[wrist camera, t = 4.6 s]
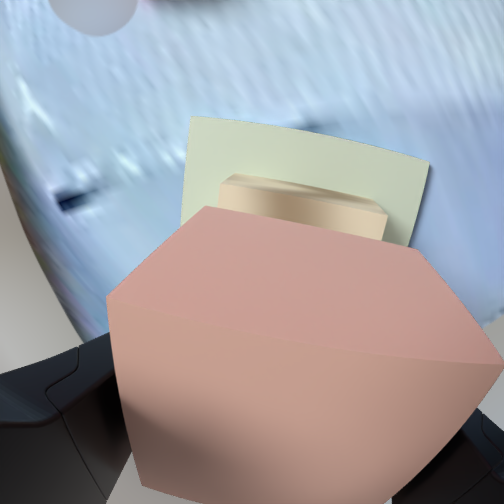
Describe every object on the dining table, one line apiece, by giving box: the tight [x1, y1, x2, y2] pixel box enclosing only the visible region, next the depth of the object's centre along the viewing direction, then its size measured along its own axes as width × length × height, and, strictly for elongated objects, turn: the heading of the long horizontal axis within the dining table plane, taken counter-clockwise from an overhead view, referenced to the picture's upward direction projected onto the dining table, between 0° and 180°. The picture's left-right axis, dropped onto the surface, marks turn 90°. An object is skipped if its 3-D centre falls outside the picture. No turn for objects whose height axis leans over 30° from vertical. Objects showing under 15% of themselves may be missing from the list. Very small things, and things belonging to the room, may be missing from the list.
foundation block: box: [217, 173, 388, 241], centre depth 17 cm, size 8×8×4 cm
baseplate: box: [180, 116, 430, 247], centre depth 19 cm, size 14×14×1 cm
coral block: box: [106, 206, 504, 504], centre depth 7 cm, size 6×6×5 cm
